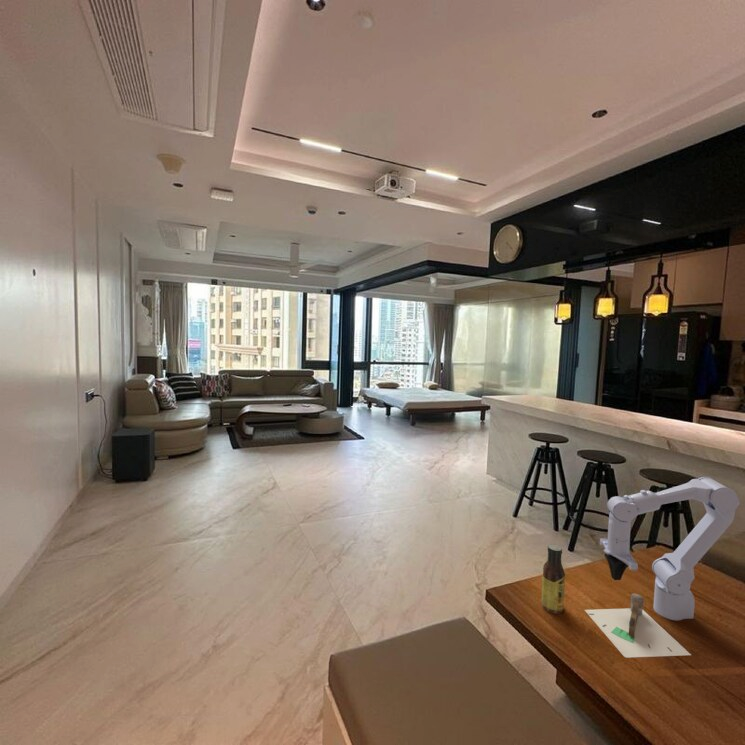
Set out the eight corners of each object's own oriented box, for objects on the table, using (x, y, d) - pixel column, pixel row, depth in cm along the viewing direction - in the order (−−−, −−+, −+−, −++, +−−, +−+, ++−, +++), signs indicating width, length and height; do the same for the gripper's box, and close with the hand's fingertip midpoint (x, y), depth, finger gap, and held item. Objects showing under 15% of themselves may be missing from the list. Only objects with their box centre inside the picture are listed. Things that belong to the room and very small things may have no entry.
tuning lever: (631, 606, 120) (631, 592, 120) (642, 610, 118) (643, 596, 118) (624, 636, 108) (625, 621, 107) (637, 642, 106) (638, 626, 106)
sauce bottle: (562, 619, 117) (565, 556, 115) (539, 611, 120) (542, 549, 118) (564, 606, 122) (567, 546, 120) (542, 599, 125) (545, 540, 124)
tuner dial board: (640, 611, 120) (640, 607, 120) (691, 658, 102) (691, 654, 102) (584, 612, 119) (584, 609, 119) (624, 661, 102) (625, 657, 101)
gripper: (591, 525, 127) (589, 565, 128) (622, 549, 113) (619, 594, 114) (612, 525, 127) (610, 565, 129) (645, 549, 113) (642, 593, 114)
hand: (616, 578), depth 121 cm, fingers closed
